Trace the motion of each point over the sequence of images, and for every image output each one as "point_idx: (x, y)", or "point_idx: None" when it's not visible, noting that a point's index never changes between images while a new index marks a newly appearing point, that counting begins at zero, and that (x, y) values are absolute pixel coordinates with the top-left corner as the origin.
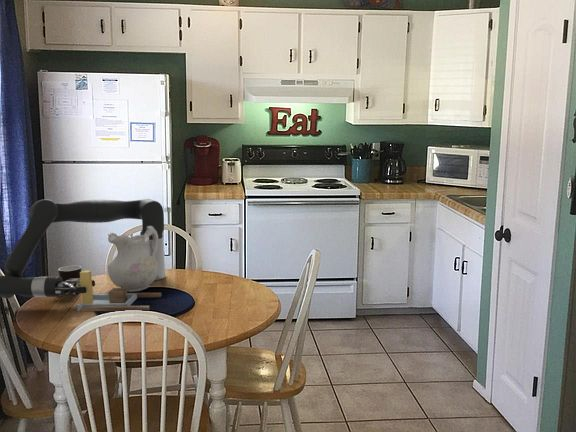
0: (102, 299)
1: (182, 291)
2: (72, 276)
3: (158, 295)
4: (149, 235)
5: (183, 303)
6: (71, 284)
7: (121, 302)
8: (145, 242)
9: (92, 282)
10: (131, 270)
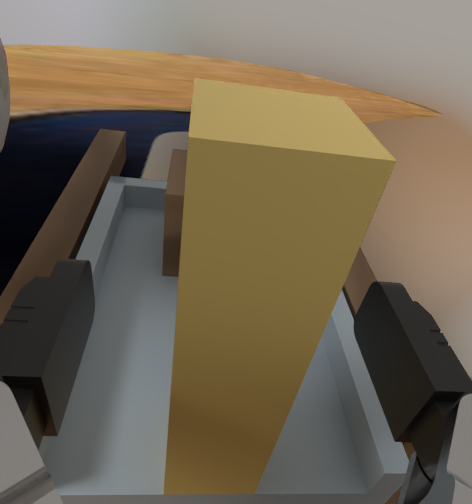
0: (102, 354)
1: (11, 119)
2: None
3: (124, 140)
4: None
5: (179, 124)
6: (458, 486)
7: None
8: None
9: (85, 288)
10: None
